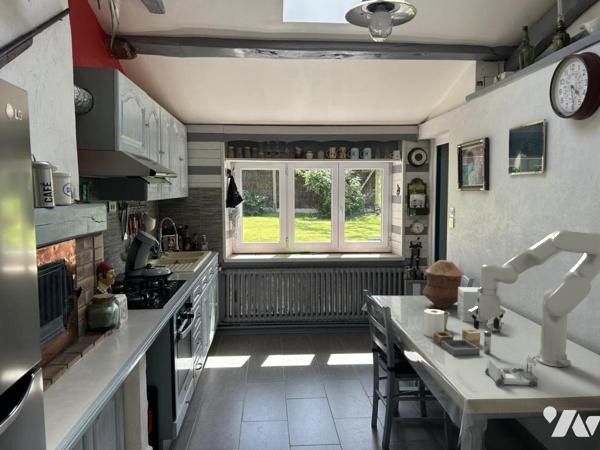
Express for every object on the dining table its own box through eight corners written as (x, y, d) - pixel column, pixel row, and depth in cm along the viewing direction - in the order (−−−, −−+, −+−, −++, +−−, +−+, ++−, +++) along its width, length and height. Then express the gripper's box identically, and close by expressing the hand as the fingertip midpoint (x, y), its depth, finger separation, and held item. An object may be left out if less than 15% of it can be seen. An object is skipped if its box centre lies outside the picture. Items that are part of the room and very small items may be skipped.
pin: (492, 354, 200) (492, 332, 199) (486, 354, 199) (486, 332, 198) (488, 351, 203) (489, 330, 202) (482, 352, 202) (483, 330, 201)
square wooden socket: (453, 345, 211) (453, 336, 210) (439, 346, 209) (439, 337, 209) (446, 340, 217) (446, 331, 217) (432, 341, 216) (433, 332, 216)
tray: (479, 354, 198) (479, 348, 198) (453, 356, 196) (454, 349, 196) (465, 345, 211) (465, 339, 210) (440, 346, 209) (441, 340, 208)
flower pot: (429, 329, 236) (429, 313, 235) (432, 325, 244) (433, 309, 243) (447, 332, 231) (448, 316, 231) (450, 327, 240) (450, 311, 239)
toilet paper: (428, 330, 235) (428, 307, 234) (447, 334, 228) (447, 311, 227) (420, 334, 227) (420, 311, 226) (439, 338, 220) (440, 315, 220)
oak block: (479, 344, 212) (480, 332, 212) (468, 345, 211) (468, 333, 211) (473, 340, 218) (473, 328, 218) (461, 341, 217) (462, 329, 217)
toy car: (531, 352, 176) (546, 363, 164) (530, 376, 176) (544, 388, 165) (485, 351, 177) (496, 361, 165) (484, 374, 178) (495, 387, 166)
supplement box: (479, 316, 262) (480, 287, 261) (486, 322, 249) (487, 292, 248) (456, 315, 264) (457, 286, 263) (462, 321, 251) (463, 291, 250)
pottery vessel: (414, 303, 291) (415, 259, 289) (443, 300, 302) (444, 256, 300) (441, 313, 268) (443, 264, 266) (473, 309, 278) (474, 262, 276)
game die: (497, 339, 232) (506, 327, 225) (481, 332, 233) (490, 320, 227) (497, 327, 238) (506, 315, 232) (482, 320, 240) (491, 309, 233)
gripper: (475, 293, 194) (473, 331, 195) (511, 293, 197) (508, 330, 198) (466, 289, 201) (464, 326, 203) (501, 289, 204) (498, 325, 205)
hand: (486, 328), depth 200 cm, fingers open, 9 cm apart
